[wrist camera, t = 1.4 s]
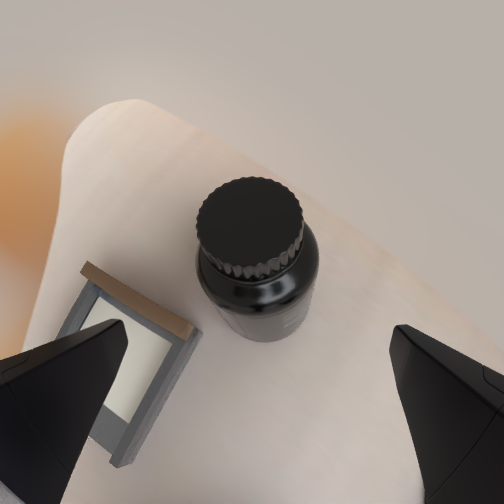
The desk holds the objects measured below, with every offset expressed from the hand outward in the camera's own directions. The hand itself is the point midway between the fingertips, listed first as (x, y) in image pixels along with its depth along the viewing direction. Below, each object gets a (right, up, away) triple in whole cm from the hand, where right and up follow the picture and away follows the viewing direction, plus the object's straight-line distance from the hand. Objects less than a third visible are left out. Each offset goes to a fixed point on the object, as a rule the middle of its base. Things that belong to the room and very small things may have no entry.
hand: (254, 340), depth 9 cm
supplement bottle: (+1, -1, +15) cm, 15 cm away
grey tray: (-11, -7, +13) cm, 19 cm away
